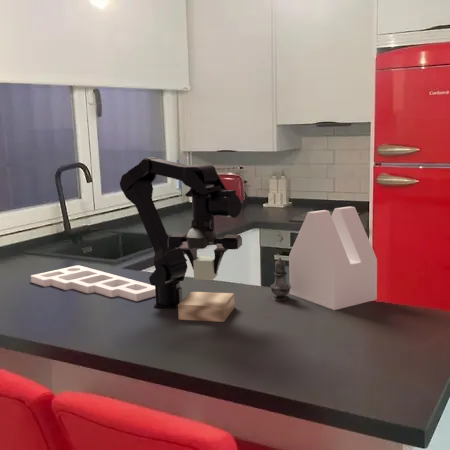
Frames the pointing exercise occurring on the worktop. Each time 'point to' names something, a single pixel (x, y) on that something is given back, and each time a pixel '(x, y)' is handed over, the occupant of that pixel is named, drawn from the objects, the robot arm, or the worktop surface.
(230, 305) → the oak riser block
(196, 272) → the sage cube
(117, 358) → the worktop surface
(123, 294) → the holder
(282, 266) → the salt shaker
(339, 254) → the milk carton
